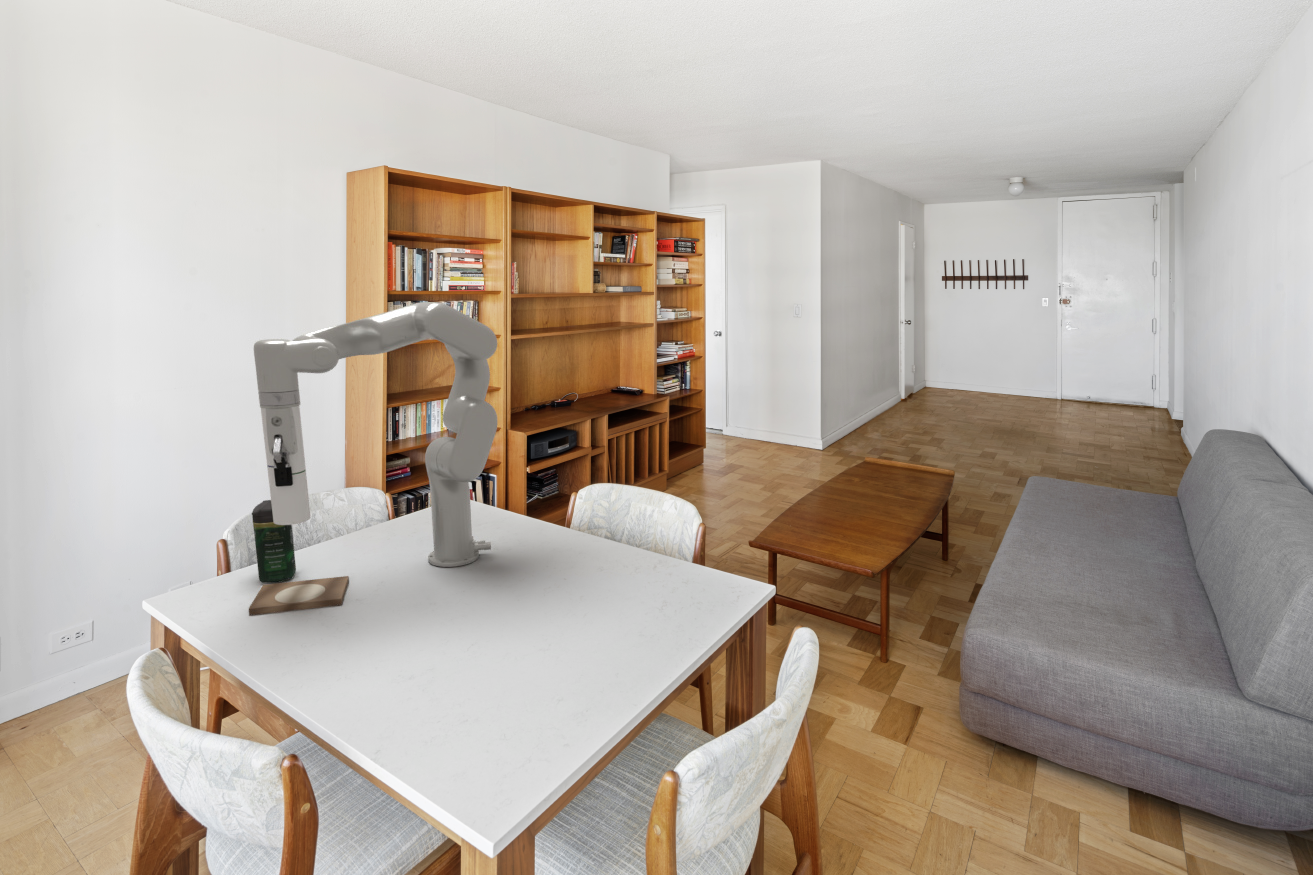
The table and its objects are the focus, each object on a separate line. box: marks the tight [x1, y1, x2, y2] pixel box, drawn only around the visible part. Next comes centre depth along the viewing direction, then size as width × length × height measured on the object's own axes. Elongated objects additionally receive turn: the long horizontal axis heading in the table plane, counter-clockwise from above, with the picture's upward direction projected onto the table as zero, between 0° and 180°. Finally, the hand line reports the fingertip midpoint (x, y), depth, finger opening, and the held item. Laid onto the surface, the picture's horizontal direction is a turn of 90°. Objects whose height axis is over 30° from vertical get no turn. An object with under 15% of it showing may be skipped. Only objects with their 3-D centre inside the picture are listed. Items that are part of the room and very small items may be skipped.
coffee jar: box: [251, 499, 297, 584], centre depth 166 cm, size 10×8×19 cm
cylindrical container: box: [260, 405, 312, 526], centre depth 149 cm, size 7×7×25 cm
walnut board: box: [248, 575, 350, 616], centre depth 156 cm, size 18×13×2 cm
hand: (288, 480), depth 149 cm, fingers closed on cylindrical container, 7 cm apart
